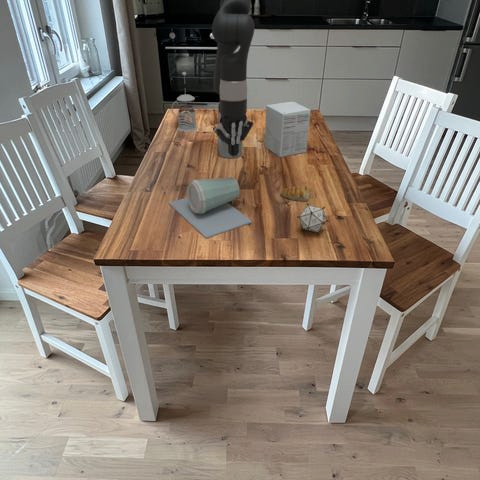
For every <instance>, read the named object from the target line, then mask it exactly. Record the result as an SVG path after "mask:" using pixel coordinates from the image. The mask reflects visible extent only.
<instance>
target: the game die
mask: <svg viewBox="0 0 480 480" xmlns="http://www.w3.org/2000/svg"><path fill="white" fill-rule="evenodd" d="M306 205H307V206H306V207H305V208H304V210H303V211H302V212H301V214H300V215H297V216H296V218H297V219H299V221H300V224H301V227H302V228H301V231H304V230H306V231H310V232H313V233H316V234H317V235H318V236H320V233H319V232H320V230H321V229H322V228H323V226H324V225H325V224H326V223H327V222H329V219H327V217H326V214H325V211H324V209H325V208H326V207H325V206H323V207H318V206H313V205H309V202H306Z"/></svg>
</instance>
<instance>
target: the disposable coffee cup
mask: <svg viewBox="0 0 480 480" xmlns="http://www.w3.org/2000/svg"><path fill="white" fill-rule="evenodd" d="M240 191H241V190H240V185H239V183H238V181H237V180H236V178H234V177H224V178H223V177H221V178H207V179H205V178H204V179H194V180H191V181H189V183H188V185H187V191H186V193H187V197H188V202H189V205H190V208H191V210H192V211H193V212H194V213H199V214H201V213H205V212H206V211H208V210H210V209H213V208H215V207H217V206H220V205H222V204H224V203H227V202H228V203H229V202H231V201H233V200H235V199H237V198H238V197H239V196H240Z"/></svg>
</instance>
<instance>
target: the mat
mask: <svg viewBox="0 0 480 480" xmlns="http://www.w3.org/2000/svg"><path fill="white" fill-rule="evenodd" d="M168 205H170V206H171V208H173V209H174V210H175V212H177V213H178V214H180V216H181V217H182V218H184V220H186V221H187V222H188V223H189V224H190V225H191V226H192V228H194V229H195V230H196V231H197V232H198V233H199V234H200V235H201V236H202V237H203V238H204V239H209V238H212V237H215V236H218V235H220V234H223V233H227V232H229V231H232V230H235V229H238V228H240V227H243V226H246V225H249V224H252V223H253V220H251V219H250V218H249V217H247V216H246V215H245V214H243V213H242V211H240V210H238V209H237V208H236V207H234V206H233V205H231V204H230V203H229V202H227V203H224V204H222V205H220V206H217V207H215V208H213V209H210V210H208V211H206V212H205V213H201V214H199V213H194V212H193V211H192V210H191V208H190V205H189V202H188V196H187V197H185V198H181V199H177V200H173V201H170V202H168Z"/></svg>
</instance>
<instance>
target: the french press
mask: <svg viewBox="0 0 480 480" xmlns="http://www.w3.org/2000/svg"><path fill="white" fill-rule="evenodd" d="M181 75H183V79H184V80H183V81H184V83H186V77H185V76H186V75H187V72H186V71H183V72H182V73H181ZM186 91H187V90H186V89H184V94H180V95H179V96H178V97H177V98H176V100H175V101H174V102H173V103H172V105H171V113H172V115H173V116H174V117H175V118H176V119H178V120H177V121H178V126H177V128H178V130H177V131H179V132H182V131H184V133H191V131H192V132H195V130H196V131H197V130H198V129H199V127H198V126H197V124H196V123H197V122H196V119H197V118H196V110H195V106H194V105H191V104H190V105H189V104H185V105H183V104H182V105H180V106H178V107H177V108H178V112H177V113H178V114H177V115H176V113H174V110H173V109H174V108H173V107H174V105H175V104H176V105H179V102H182V103H188V102H193V101H195V97H194V96H192V95H191V94H186ZM197 128H198V129H197Z"/></svg>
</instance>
